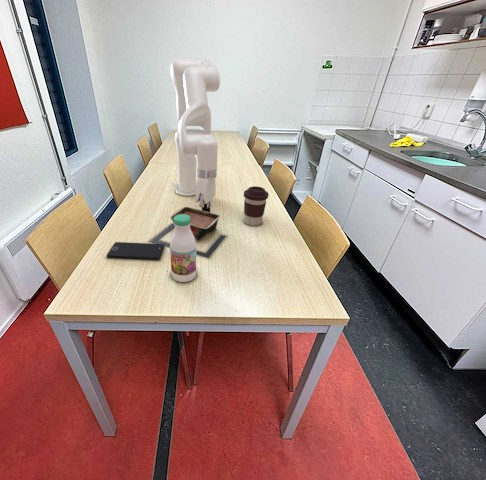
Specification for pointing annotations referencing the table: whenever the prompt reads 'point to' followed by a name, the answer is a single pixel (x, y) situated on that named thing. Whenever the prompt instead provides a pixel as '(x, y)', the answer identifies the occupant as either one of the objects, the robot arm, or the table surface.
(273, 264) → the table surface
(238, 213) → the table surface
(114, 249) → the cell phone
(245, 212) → the coffee cup
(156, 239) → the tape outline
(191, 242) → the milk bottle
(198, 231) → the baking dish
